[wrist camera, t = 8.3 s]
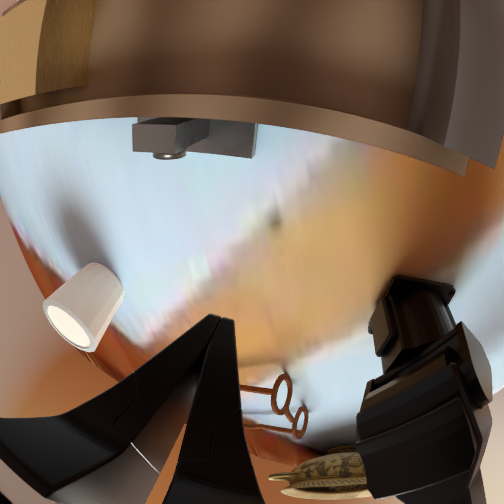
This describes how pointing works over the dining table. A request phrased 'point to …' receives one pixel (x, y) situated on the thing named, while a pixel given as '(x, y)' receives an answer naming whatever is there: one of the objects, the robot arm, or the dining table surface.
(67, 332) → the white cup
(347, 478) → the ceramic bowl
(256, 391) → the glasses
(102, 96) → the beam
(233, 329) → the robot arm
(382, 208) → the dining table surface
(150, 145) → the pivot stand
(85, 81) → the brass block
